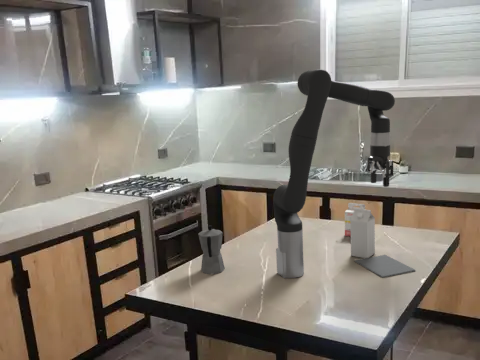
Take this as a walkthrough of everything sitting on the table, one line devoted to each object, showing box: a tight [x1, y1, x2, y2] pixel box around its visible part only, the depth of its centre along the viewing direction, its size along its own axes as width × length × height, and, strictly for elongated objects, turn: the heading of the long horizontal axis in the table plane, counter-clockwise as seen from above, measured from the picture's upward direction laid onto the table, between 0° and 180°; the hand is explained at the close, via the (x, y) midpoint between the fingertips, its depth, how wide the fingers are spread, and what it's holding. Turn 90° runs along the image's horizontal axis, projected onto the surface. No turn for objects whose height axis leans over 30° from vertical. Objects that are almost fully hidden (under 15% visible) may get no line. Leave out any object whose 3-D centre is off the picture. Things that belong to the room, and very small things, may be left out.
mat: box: [354, 254, 416, 278], centre depth 177 cm, size 14×18×1 cm
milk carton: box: [350, 208, 376, 259], centre depth 188 cm, size 7×7×19 cm
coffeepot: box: [198, 225, 226, 275], centre depth 180 cm, size 15×9×18 cm, turn 179°
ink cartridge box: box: [344, 202, 366, 237], centre depth 213 cm, size 9×5×15 cm, turn 58°
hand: (379, 184), depth 186 cm, fingers open, 8 cm apart
